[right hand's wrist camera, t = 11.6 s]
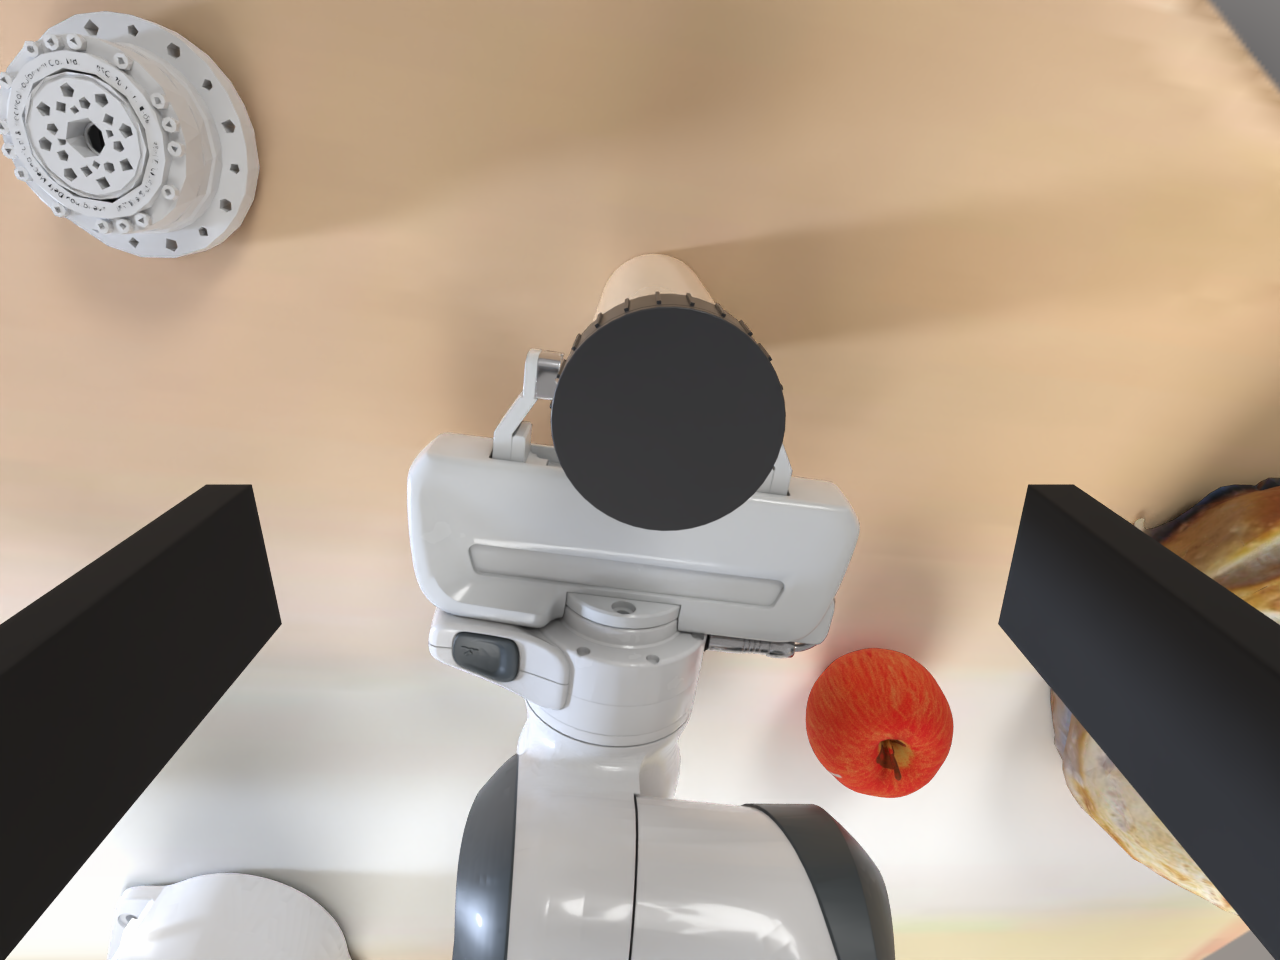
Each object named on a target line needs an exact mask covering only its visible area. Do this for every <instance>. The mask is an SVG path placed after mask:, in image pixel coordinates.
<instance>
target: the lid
mask: <svg viewBox="0 0 1280 960" xmlns="http://www.w3.org/2000/svg"><path fill="white" fill-rule="evenodd" d="M752 335H753V334H752V332H751V331H750V330H749V328H748V327H747V326H746V325H745V323H744V322H743V321H742V320H740V321H738V320H737V319H735V318H734V317H733V316H731V315H730V314H729V313H727V312H726V311H725V310H723V309H722V307H721V306H720V305H719V304H718V303H715V305H714V304H712V303H709V302H707V301H704V300H702V299H699V298H695V297H692V296H691V294H690V293H686V295H680V294H660V293H659V291H656V292H655V294H653V295H647V296H641V297H638V298H635V299H631V300H629V298H626V299H625V302H624V303H621V304H619V305H617V306H615V307H613V308H612V309H610V310H608V311H607V312H605V313H604V314H602V313H601V312H600V313H599V314H598V316H597V319H596V320H595V321H594V322H593V323H591V325H590V326H589V327H588V328H587V329H586V330H585V331H584V332H583V333H582V335H581V334H578V335H577V337H576V339H575V342H574V344H573V347H572V350H571V352H570V354H569V356H568V358H567V360H565V359H564V360H563V363H562V365H561V367H560V370H559V372H558V374H557V377H556V378H559V380H558V383H557V386H556V389H555V392H554V396H553V399H552V401H551V404H550V408H551V432H552V439H553V444H554V448H555V452H556V455H557V457H558V460H559V463H560V465H561V467H562V469H563V471H564V473H565V475H566V476H567V478H568V479H569V481H570V482H571V484H572V485H573V486H574V488H575V489H576V490H577V491H578V492H579V493H580V494H581V496H582V497H583V498H584V499H585V500H587V501H588V502H589V503H590V504H591V505H593V506H594V507H595V508H596V509H598V510H599V511H601V512H602V513H604V514H606V515H607V516H609V517H611V518H613V519H615V520H617V521H619V522H622V523H625V524H628V525H630V526H633V527H638V528H642V529H647V530H656V531H678V530H685V529H692V528H695V527H699V526H703V525H706V524H709V523H711V522H714V521H716V520H719V519H720V518H722V517H724V516H726V515H728V514H730V513H731V512H733V511H734V510H736V509H737V508H738V507H740V506H741V505H743V504H744V503H745V502H746V501H747V500H748V499H749V498H750V497H751V496H753V495H754V494H755V492H756V491H757V490H758V489H759V488H760V486H761V485H762V484H763V483H764V481H765V480H766V478H767V477H768V475H769V474H770V472H771V471H772V468H773V466H774V464H775V462H776V460H777V458H778V455H779V452H780V449H781V446H782V442H783V437H784V432H785V417H786V414H785V402H784V397H783V392H782V390H783V387H782V385H781V384H780V382H779V379H778V377H777V374H776V371H775V370H774V368H773V366H772V364H771V362H770V361H771V360H772V359H771V357H770V356H769V354H768V353H767V352H766V350H765V349H764V348H763V346H762V345H761V344H760V343H759V344H757V343H756V341H755V340H754V339H753V337H752Z"/></svg>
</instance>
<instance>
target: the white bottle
mask: <svg viewBox="0 0 1280 960" xmlns="http://www.w3.org/2000/svg"><path fill="white" fill-rule="evenodd" d="M656 291H659V293H660V294H680V295H686V293H690V294H691V296H692V297H695V298H699V299H702V300H704V301H707V302H709V303H712V304H714V305H715V302H714V301H713V299H712V298H711V296H710V294H709V293H708V291H707V290H706V288H705V287H704V285H703V284H702V282H701V281H700V279H699V278H698V276H697V275H696V274H695V272H694V271H693V270H692V269H691V268H690V267H689V266H687V265H686V264H685V263H683V262H682V261H680V260H678V259H676V258H674V257H671V256H668V255H664V254H645V255H640V256H637V257H634V258H632V259H630V260H628V261H626V262H625V263H623V264H622V265H621V266H620V267H618V268H617V269H616V270H615V271H614V273H613V274H612V275H611V276H610V278H609V279H608V281H607V283H606V285H605V287H604V290H603V293H602V296H601V299H600V302H599V305H598V307H597V310H596V313H595V316H594V319H593V322H594V321H595V320H596V319H597V316H598V314H599V313H600V312H601V313H602V314H604V313H605V312H607V311H608V310H610V309H612V308H613V307H615V306H617V305H619V304H621V303H624V302H625V299H626V298H629V300H631V299H635V298H638V297H641V296H647V295H653V294H655V292H656ZM593 322H592V323H593Z"/></svg>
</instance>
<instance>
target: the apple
mask: <svg viewBox="0 0 1280 960" xmlns="http://www.w3.org/2000/svg"><path fill="white" fill-rule="evenodd" d="M806 729H807V735H808V738H809V742H810V745H811V747H812V749H813V751H814V753H815V755H816V757H817V758H818V760H819V761H820V762H821V764H822V765H823V766H824V767H825V768H826V769H827V770H828V771H829V772H830V773H831V774H832V775H833V776H834V777H835V778H836V779H837V780H838V781H839V782H841V783H842V784H843V785H844V786H846V787H847V788H849V789H851V790H853V791H855V792H858V793H862V794H866V795H871V796H877V797H885V798H896V797H902V796H906V795H909V794H911V793H913V792H915V791H917V790H919V789H920V788H922V787H923V786H925V785H926V784H927V783H929V782H930V780H931V779H932V778H933V777H934V776H935V774H936V773H937V771H938V770H939V769H940V767H941V766H942V764H943V763H944V761H945V759H946V757H947V755H948V753H949V750H950V747H951V743H952V737H953V718H952V713H951V710H950V707H949V704H948V702H947V700H946V697H945V696H944V694H943V692H942V690H941V689H940V687H939V685H938V684H937V682H936V680H935V679H934V678H933V676H932V675H931V674H930V673H929V672H928V671H927V670H926V669H925V668H924V667H923V666H922V665H921V664H920V663H918V662H917V661H915V660H914V659H912V658H911V657H909V656H907V655H905V654H903V653H900V652H897V651H893V650H887V649H878V648H868V649H862V650H858V651H854V652H851V653H848V654H846V655H844V656H842V657H840V658H838V659H836V660H835V661H834V662H832V663H831V664H830V665H829V666H828V667H827V668H826V670H825V671H824V672H823V673H822V674H821V675H820V677H819V678H818V679H817V681H816V682H815V684H814V686H813V688H812V689H811V692H810V695H809V698H808V702H807V708H806Z"/></svg>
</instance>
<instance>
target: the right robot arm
mask: <svg viewBox="0 0 1280 960" xmlns="http://www.w3.org/2000/svg"><path fill="white" fill-rule="evenodd" d="M281 624H282V623H281V618H280V614H279V609H278V604H277V600H276V595H275V590H274V586H273V581H272V577H271V572H270V567H269V563H268V558H267V553H266V549H265V544H264V539H263V535H262V530H261V526H260V521H259V516H258V512H257V507H256V502H255V498H254V493H253V488H252V485H205V486H204V487H202V488H201V489H199V490H198V491H196V492H195V493H193V494H192V495H190V496H189V497H187V498H186V499H184V500H183V501H182V502H180V503H179V504H177V505H176V506H174V507H173V508H171V509H170V510H168V511H167V512H165V513H164V514H162V515H161V516H159V517H158V518H157V519H155V520H154V521H152V522H151V523H149V524H148V525H146V526H145V527H143V528H142V529H140V530H139V531H137V532H136V533H134V534H133V535H132V536H130V537H129V538H127V539H126V540H124V541H123V542H121V543H120V544H118V545H117V546H115V547H114V548H112V549H111V550H109V551H108V552H107V553H105V554H104V555H102V556H101V557H99V558H98V559H96V560H95V561H93V562H92V563H90V564H89V565H87V566H86V567H85V568H83V569H82V570H80V571H79V572H77V573H76V574H74V575H73V576H71V577H70V578H68V579H67V580H65V581H64V582H62V583H61V584H60V585H58V586H57V587H55V588H54V589H52V590H51V591H49V592H48V593H46V594H45V595H43V596H42V597H40V598H39V599H37V600H36V601H35V602H33V603H32V604H30V605H29V606H27V607H26V608H24V609H23V610H21V611H20V612H18V613H17V614H15V615H14V616H12V617H11V618H10V619H8V620H7V621H5V622H4V623H2V624H1V625H0V960H5V959H6V958H7V956H8V955H9V954H10V953H11V951H12V950H13V949H14V948H15V947H16V945H17V944H18V943H19V942H20V941H21V939H22V938H23V937H24V936H25V935H26V933H27V932H28V931H29V930H30V928H31V927H32V926H33V925H34V924H35V922H36V921H37V920H38V919H39V918H40V916H41V915H42V914H43V913H44V911H45V910H46V909H47V908H48V907H49V905H50V904H51V903H52V902H53V901H54V899H55V898H56V897H57V896H58V895H59V893H60V892H61V891H62V890H63V888H64V887H65V886H66V885H67V884H68V882H69V881H70V880H71V879H72V878H73V876H74V875H75V874H76V873H77V871H78V870H79V869H80V868H81V867H82V865H83V864H84V863H85V862H86V861H87V859H88V858H89V857H90V856H91V855H92V853H93V852H94V851H95V850H96V848H97V847H98V846H99V845H100V844H101V842H102V841H103V840H104V839H105V838H106V836H107V835H108V834H109V833H110V831H111V830H112V829H113V828H114V827H115V825H116V824H117V823H118V822H119V821H120V819H121V818H122V817H123V816H124V815H125V813H126V812H127V811H128V810H129V808H130V807H131V806H132V805H133V804H134V802H135V801H136V800H137V799H138V798H139V796H140V795H141V794H142V793H143V792H144V790H145V789H146V788H147V787H148V785H149V784H150V783H151V782H152V781H153V779H154V778H155V777H156V776H157V775H158V773H159V772H160V771H161V770H162V768H163V767H164V766H165V765H166V764H167V762H168V761H169V760H170V759H171V758H172V756H173V755H174V754H175V753H176V752H177V750H178V749H179V748H180V747H181V745H182V744H183V743H184V742H185V741H186V739H187V738H188V737H189V736H190V735H191V733H192V732H193V731H194V730H195V728H196V727H197V726H198V725H199V724H200V722H201V721H202V720H203V719H204V718H205V716H206V715H207V714H208V713H209V712H210V710H211V709H212V708H213V707H214V705H215V704H216V703H217V702H218V701H219V699H220V698H221V697H222V696H223V695H224V693H225V692H226V691H227V690H228V688H229V687H230V686H231V685H232V684H233V682H234V681H235V680H236V679H237V678H238V676H239V675H240V674H241V673H242V672H243V670H244V669H245V668H246V667H247V665H248V664H249V663H250V662H251V661H252V659H253V658H254V657H255V656H256V655H257V653H258V652H259V651H260V650H261V648H262V647H263V646H264V645H265V644H266V642H267V641H268V640H269V639H270V638H271V636H272V635H273V634H274V633H275V632H276V630H277V629H278V628H279V627H280V625H281ZM998 624H999V625H1000V627H1001V628H1002V629H1003V630H1004V632H1005V633H1006V634H1007V635H1008V636H1009V638H1010V639H1011V640H1012V641H1013V642H1014V644H1015V645H1016V646H1017V647H1018V648H1019V650H1020V651H1021V652H1022V653H1023V655H1024V656H1025V657H1026V658H1027V659H1028V661H1029V662H1030V663H1031V664H1032V665H1033V667H1034V668H1035V669H1036V670H1037V672H1038V673H1039V674H1040V675H1041V676H1042V678H1043V679H1044V680H1045V681H1046V682H1047V684H1048V685H1049V686H1050V687H1051V688H1052V690H1053V691H1054V692H1055V693H1056V695H1057V696H1058V697H1059V698H1060V699H1061V701H1062V702H1063V703H1064V704H1065V705H1066V707H1067V708H1068V709H1069V710H1070V712H1071V713H1072V714H1073V715H1074V716H1075V718H1076V719H1077V720H1078V721H1079V722H1080V724H1081V725H1082V726H1083V727H1084V728H1085V730H1086V731H1087V732H1088V733H1089V735H1090V736H1091V737H1092V738H1093V739H1094V741H1095V742H1096V743H1097V744H1098V745H1099V747H1100V748H1101V749H1102V750H1103V752H1104V753H1105V754H1106V755H1107V756H1108V758H1109V759H1110V760H1111V761H1112V762H1113V764H1114V765H1115V766H1116V767H1117V768H1118V770H1119V771H1120V772H1121V773H1122V775H1123V776H1124V777H1125V778H1126V779H1127V781H1128V782H1129V783H1130V784H1131V785H1132V787H1133V788H1134V789H1135V790H1136V792H1137V793H1138V794H1139V795H1140V796H1141V798H1142V799H1143V800H1144V801H1145V802H1146V804H1147V805H1148V806H1149V807H1150V808H1151V810H1152V811H1153V812H1154V813H1155V815H1156V816H1157V817H1158V818H1159V819H1160V821H1161V822H1162V823H1163V824H1164V825H1165V827H1166V828H1167V829H1168V830H1169V831H1170V833H1171V834H1172V835H1173V836H1174V838H1175V839H1176V840H1177V841H1178V842H1179V844H1180V845H1181V846H1182V847H1183V848H1184V850H1185V851H1186V852H1187V853H1188V855H1189V856H1190V857H1191V858H1192V859H1193V861H1194V862H1195V863H1196V864H1197V865H1198V867H1199V868H1200V869H1201V870H1202V871H1203V873H1204V874H1205V875H1206V876H1207V878H1208V879H1209V880H1210V881H1211V882H1212V884H1213V885H1214V886H1215V887H1216V888H1217V890H1218V891H1219V892H1220V893H1221V895H1222V896H1223V897H1224V898H1225V899H1226V901H1227V902H1228V903H1229V904H1230V905H1231V907H1232V908H1233V909H1234V910H1235V911H1236V913H1237V914H1238V915H1239V916H1240V918H1241V919H1242V920H1243V921H1244V922H1245V924H1246V925H1247V926H1248V927H1249V928H1250V930H1251V931H1252V932H1253V933H1254V935H1255V936H1256V937H1257V938H1258V939H1259V941H1260V942H1261V943H1262V944H1263V945H1264V947H1265V948H1266V949H1267V950H1268V951H1269V953H1270V954H1271V955H1272V956H1273V957H1274V959H1275V960H1280V625H1279V624H1278V623H1276V622H1275V621H1273V620H1272V619H1270V618H1269V617H1268V616H1266V615H1265V614H1263V613H1262V612H1260V611H1259V610H1257V609H1256V608H1254V607H1253V606H1251V605H1250V604H1248V603H1247V602H1245V601H1244V600H1243V599H1241V598H1240V597H1238V596H1237V595H1235V594H1234V593H1232V592H1231V591H1229V590H1228V589H1226V588H1225V587H1223V586H1222V585H1220V584H1219V583H1218V582H1216V581H1215V580H1213V579H1212V578H1210V577H1209V576H1207V575H1206V574H1204V573H1203V572H1201V571H1200V570H1198V569H1197V568H1196V567H1194V566H1193V565H1191V564H1190V563H1188V562H1187V561H1185V560H1184V559H1182V558H1181V557H1179V556H1178V555H1176V554H1175V553H1173V552H1172V551H1171V550H1169V549H1168V548H1166V547H1165V546H1163V545H1162V544H1160V543H1159V542H1157V541H1156V540H1154V539H1153V538H1151V537H1150V536H1148V535H1147V534H1146V533H1144V532H1143V531H1141V530H1140V529H1138V528H1137V527H1135V526H1134V525H1132V524H1131V523H1129V522H1128V521H1126V520H1125V519H1123V518H1122V517H1121V516H1119V515H1118V514H1116V513H1115V512H1113V511H1112V510H1110V509H1109V508H1107V507H1106V506H1104V505H1103V504H1101V503H1100V502H1098V501H1097V500H1096V499H1094V498H1093V497H1091V496H1090V495H1088V494H1087V493H1085V492H1084V491H1082V490H1081V489H1079V488H1078V487H1076V486H1075V485H1028V488H1027V493H1026V498H1025V502H1024V507H1023V512H1022V516H1021V521H1020V526H1019V530H1018V535H1017V539H1016V544H1015V549H1014V553H1013V558H1012V563H1011V567H1010V572H1009V577H1008V581H1007V586H1006V590H1005V595H1004V600H1003V604H1002V609H1001V614H1000V618H999V623H998Z"/></svg>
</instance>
